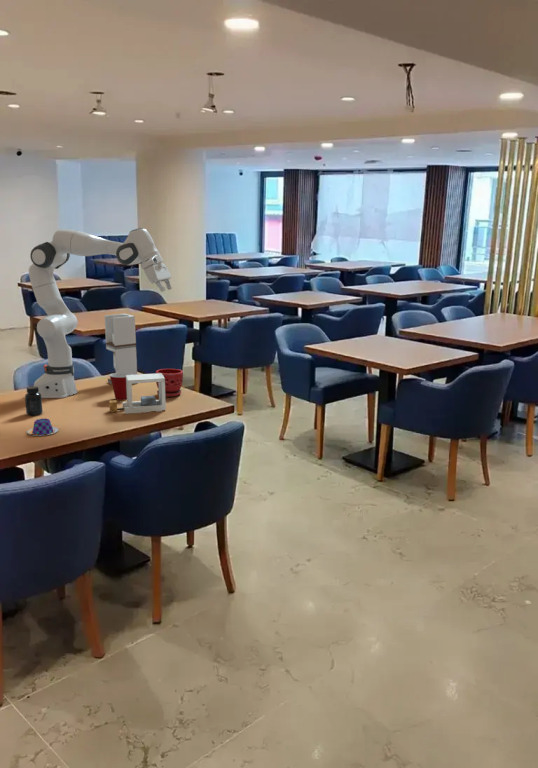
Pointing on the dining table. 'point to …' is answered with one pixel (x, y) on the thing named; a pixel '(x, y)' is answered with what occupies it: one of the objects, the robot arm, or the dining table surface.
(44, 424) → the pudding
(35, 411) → the supplement bottle
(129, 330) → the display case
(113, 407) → the grey mallet
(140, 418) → the dining table surface
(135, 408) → the shelf
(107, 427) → the dining table surface
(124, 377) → the plastic cup
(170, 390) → the plant pot
